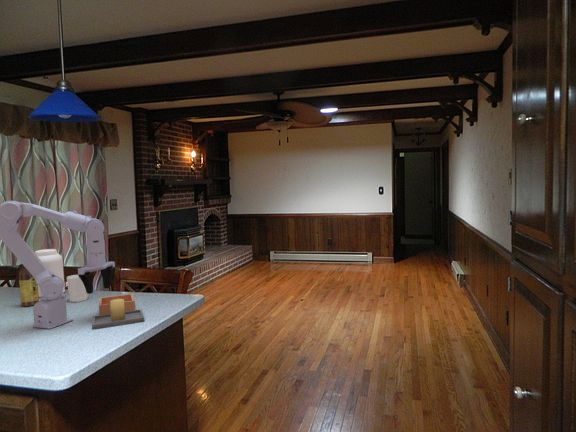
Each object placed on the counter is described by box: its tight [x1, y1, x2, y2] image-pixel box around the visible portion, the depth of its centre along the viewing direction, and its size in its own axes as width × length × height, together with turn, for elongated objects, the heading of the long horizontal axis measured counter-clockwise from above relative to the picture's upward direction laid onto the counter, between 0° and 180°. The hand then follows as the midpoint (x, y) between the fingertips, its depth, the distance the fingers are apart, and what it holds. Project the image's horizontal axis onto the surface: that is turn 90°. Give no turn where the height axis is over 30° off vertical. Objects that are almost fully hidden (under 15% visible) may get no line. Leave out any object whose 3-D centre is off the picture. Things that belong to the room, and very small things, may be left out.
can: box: [34, 248, 66, 299], centre depth 184 cm, size 12×12×20 cm
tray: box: [91, 309, 145, 330], centre depth 142 cm, size 11×16×1 cm
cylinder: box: [110, 299, 125, 321], centre depth 142 cm, size 4×4×6 cm
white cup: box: [66, 274, 89, 303], centre depth 172 cm, size 8×8×10 cm
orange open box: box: [98, 293, 136, 315], centre depth 156 cm, size 12×12×4 cm
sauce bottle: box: [18, 263, 40, 307], centre depth 167 cm, size 7×6×20 cm
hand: (98, 290), depth 147 cm, fingers open, 7 cm apart
